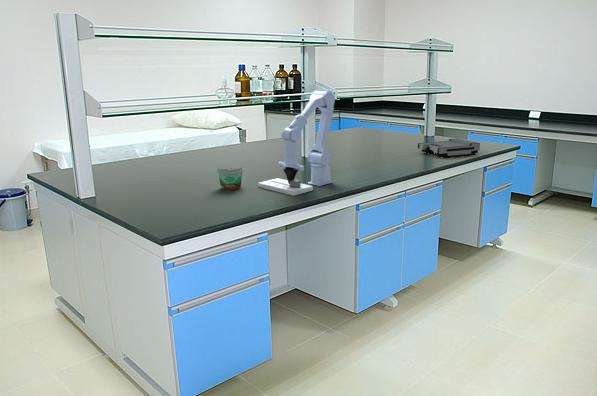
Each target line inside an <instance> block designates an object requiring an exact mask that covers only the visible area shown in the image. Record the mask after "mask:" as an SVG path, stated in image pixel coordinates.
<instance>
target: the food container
mask: <svg viewBox="0 0 597 396" xmlns="http://www.w3.org/2000/svg"><path fill="white" fill-rule="evenodd" d="M216 172H217V173H218V177H219V185H220V189H221V190H223V191H229V192H230V191H232V192H233V191H238V190H241V189H242V179H243V173H244V172H245V170H244V167H240V168H233V167H228V168H224V169H222V168H219V167H218V168H217V170H216ZM240 188H241V189H240Z"/></svg>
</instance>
